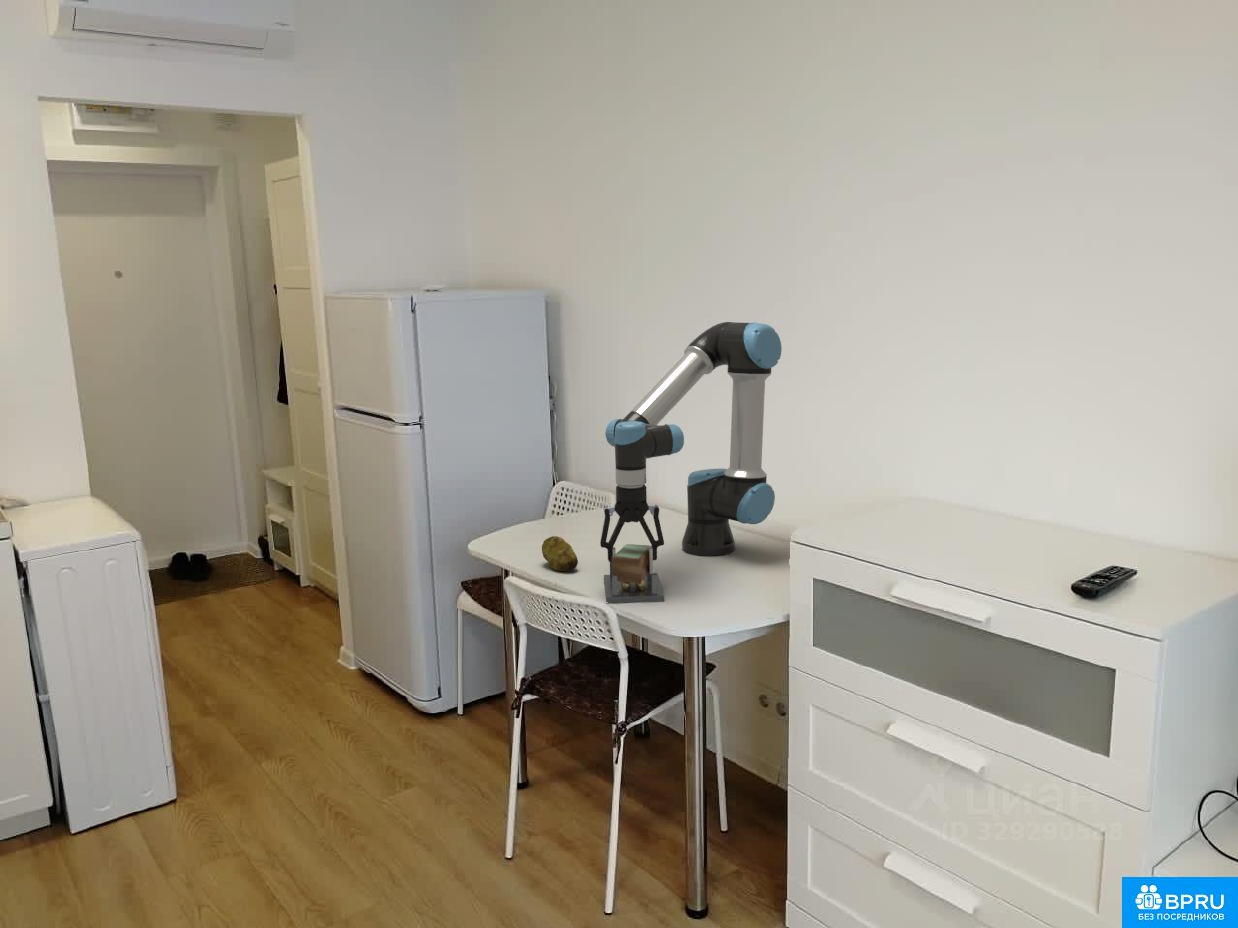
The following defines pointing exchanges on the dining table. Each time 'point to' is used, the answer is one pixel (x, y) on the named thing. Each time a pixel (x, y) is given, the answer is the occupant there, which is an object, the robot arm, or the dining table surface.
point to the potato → (559, 554)
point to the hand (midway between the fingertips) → (632, 572)
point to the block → (631, 563)
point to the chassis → (633, 589)
